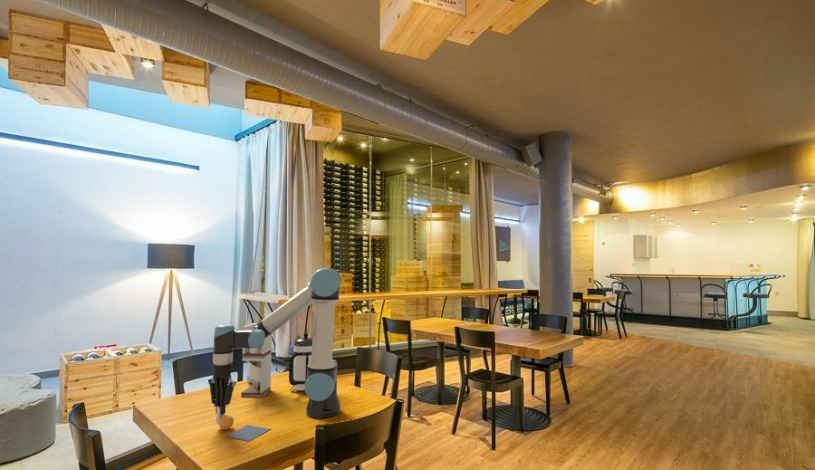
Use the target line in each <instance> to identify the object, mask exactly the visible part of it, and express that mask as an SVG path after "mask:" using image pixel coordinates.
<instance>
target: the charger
mask: <svg viewBox="0 0 815 470" xmlns="http://www.w3.org/2000/svg"><path fill="white" fill-rule="evenodd" d="M246 382H247V383H249V384H253V379H252V378H251V377H250V376H249V375H248V374H247V376H246Z"/></svg>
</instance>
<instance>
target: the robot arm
mask: <svg viewBox="0 0 815 470" xmlns="http://www.w3.org/2000/svg"><path fill="white" fill-rule="evenodd" d="M310 278H311V279H310V281H309V282H308V283H307V286H306V287H305V288H303V289H301V291H299V292H298V293H296V294H295V295H293V296H292V297H291V298H289V299H288V300H287V301H285V302H284V303H283V304H281V305H279V306H278V308H276V309H275V310H274V311H272V312H270V313H269V314H268V315H267V316H266V317H264V318H262V320H260V321H259V322H257V324H256V325H255V326H253V327H252V328H250V329H248V330H243V329H236V328H235V325H234V324H231V323H229V324H228V323H226V324H219V325H216V326H215V328H214V334H213V352H212V363H213V364H212V369H211V371H212V374H213V375H212V378H209V379H208V380H207V381H208V382H207V383H208V385H209V389H210V390H209V391H210V392H209V393H210V399H211V404H212V405H215V406H216V407H215V416H216V418H215V424H218V425H219V420H220V419H221V417H223V416H224V415H226V409H227V408H226V407H227V406H228V405H230V404H231V401H232V396H233V392H234V388H235V386H236V384H237V382H236V381H235V380H233V379H232V372H233V366H234V364H233V361H234V349H243V348H252V349H254V348H261V347H262V346H263V344H264V340H265V338H266V337H268V336H269V335H270V334H272V335H273V333H275V331H277V330H278V329H280V328H281V327H283V326H284V325H285V324H286V323H288V322H289V321H291V320H292V319H294V318H295V317H296V316H298V315H299V314H300V313H301V312H303V311H304V310H305V309H306V308H308V307H309V306H310V305H312V304H313V303H314V306H313V308H314V309H313V310H314V311H313V326H312V337H313V341H312V359H311V362H310V363H309V364H308V365H307V380H306V382H305V390H304V393H305V392H306V394H305V395H306V396H307V397H308V398H309V399H308V402H307V406H306V407H305V408H306V410H305V414H306V416H308V417H310V418H313V419H325V418H332V417H334V416H337V415H339V414H340V413H341V412H342V411H341V403H340V400H339V396H338V393H337V392H338V362H337V360H336V359H333V349H334V334H335V333H334V331H335V311H336V310H335V309H336V303H337V302H339V300H340V287H341V284H342V278H341V274H340V273H339V272H338V271H337V270H336V269H334V268H331V267H321V268H318V269H317V270H316V271H315V272H314V273H313V274H312V276H311V277H310Z"/></svg>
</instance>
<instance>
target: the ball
mask: <svg viewBox="0 0 815 470" xmlns="http://www.w3.org/2000/svg"><path fill="white" fill-rule="evenodd" d="M234 421H235V419H234V417H233V416H232V415H231V414H224V416H223V417H221V419H220V420H219V424H218V427H219V428H220V429H221V430H223V431H224V430H225V431H227V430H229V429H231V428H232V426H233V425H234Z"/></svg>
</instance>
